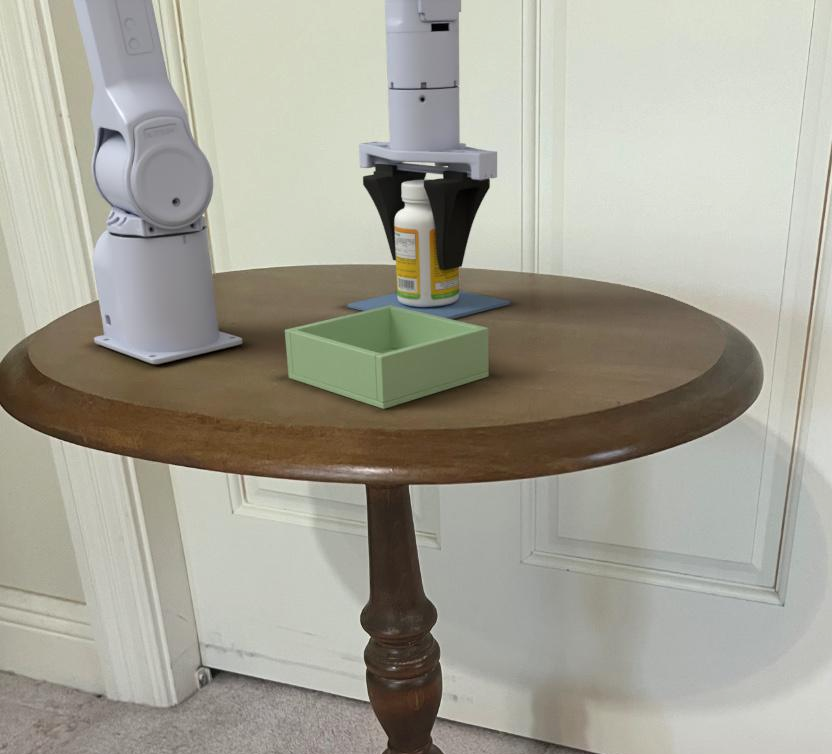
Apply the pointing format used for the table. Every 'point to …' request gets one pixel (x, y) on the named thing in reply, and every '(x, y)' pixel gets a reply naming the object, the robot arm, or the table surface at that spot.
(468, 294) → the mat
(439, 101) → the robot arm
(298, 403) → the table surface
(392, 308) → the bin
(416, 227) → the supplement bottle
